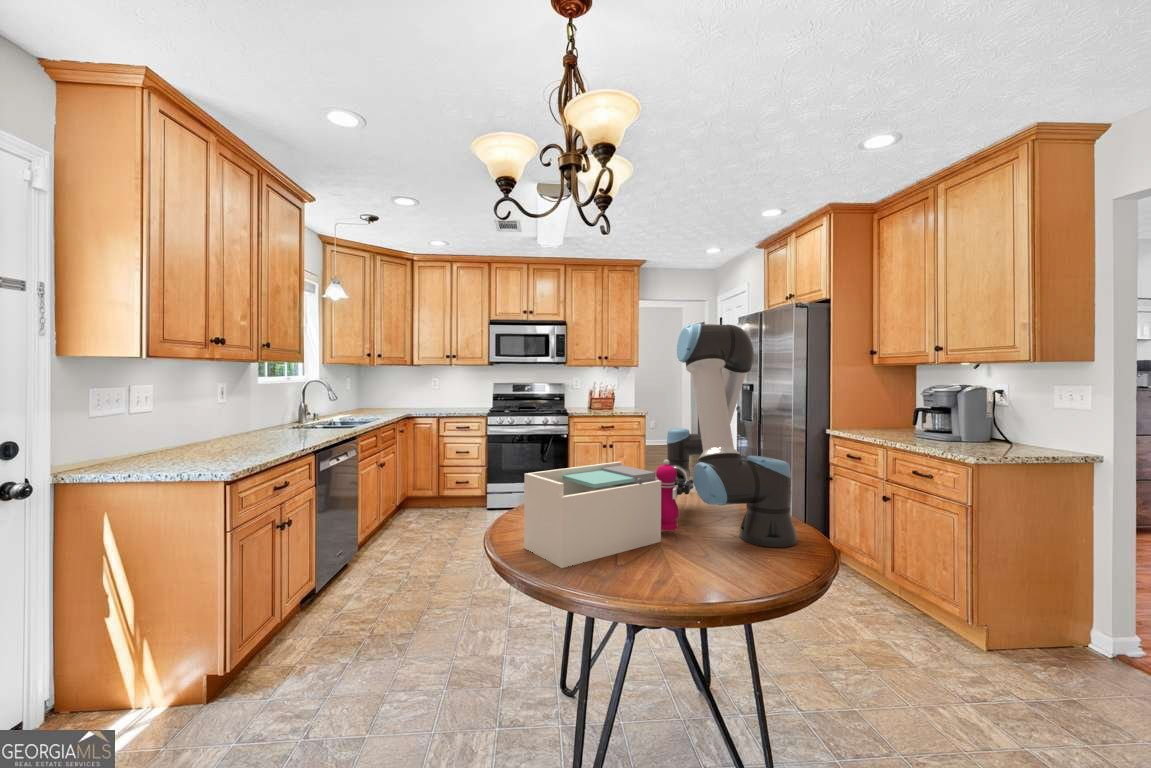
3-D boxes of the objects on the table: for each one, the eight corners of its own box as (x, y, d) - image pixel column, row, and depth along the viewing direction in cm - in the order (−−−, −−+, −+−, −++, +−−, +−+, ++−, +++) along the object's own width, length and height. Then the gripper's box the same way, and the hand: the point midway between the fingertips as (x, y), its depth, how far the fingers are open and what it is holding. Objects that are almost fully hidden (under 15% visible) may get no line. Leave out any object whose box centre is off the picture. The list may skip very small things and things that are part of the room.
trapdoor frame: (662, 542, 141) (662, 470, 141) (563, 569, 121) (564, 485, 121) (617, 526, 156) (617, 461, 156) (522, 547, 136) (523, 473, 136)
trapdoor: (655, 487, 143) (655, 472, 143) (594, 498, 130) (594, 481, 129) (621, 479, 154) (621, 465, 154) (562, 488, 141) (562, 472, 141)
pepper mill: (663, 532, 144) (663, 462, 144) (649, 525, 151) (649, 458, 150) (684, 529, 147) (684, 460, 147) (668, 522, 154) (668, 456, 154)
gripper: (702, 492, 163) (696, 509, 141) (646, 488, 169) (632, 504, 147) (702, 469, 163) (696, 482, 141) (646, 466, 169) (632, 478, 147)
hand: (663, 493), depth 144 cm, fingers closed on pepper mill, 5 cm apart
